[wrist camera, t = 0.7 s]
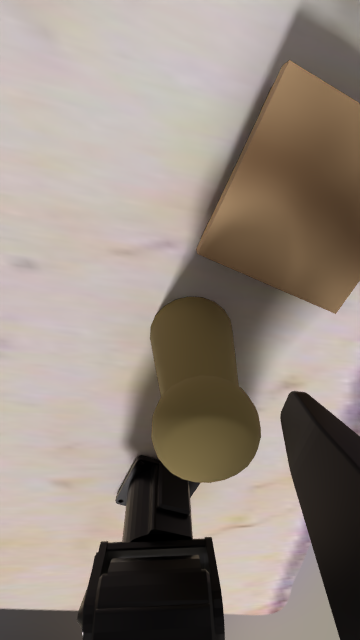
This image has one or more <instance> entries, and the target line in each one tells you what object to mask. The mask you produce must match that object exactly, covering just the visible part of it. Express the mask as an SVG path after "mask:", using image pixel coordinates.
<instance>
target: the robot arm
mask: <svg viewBox="0 0 360 640" xmlns="http://www.w3.org/2000/svg"><path fill="white" fill-rule="evenodd" d="M281 425H282V430H283V436H284V441H285V446H286V452H287V457H288V462H289V467H290V472H291V475H292V479H293V482H294V486H295V489H296V492H297V496H298V499H299V503H300V506H301V509H302V513H303V516H304V519H305V523H306V526H307V530H308V533H309V536H310V540H311V543H312V546H313V550H314V553H315V556H316V560H317V563H318V567H319V570H320V573H321V577H322V580H323V583H324V587H325V590H326V594H327V597H328V600H329V604H330V607H331V610H332V614H333V617H334V620H335V624H336V627H337V630H338V634H339V637H340V640H360V436H359V435H357V434H356V433H355V432H354V431H353V430H351V429H350V428H349V427H348V426H346V425H345V424H344V423H343V422H342V421H340V420H339V419H338V418H337V417H335V416H334V415H333V414H332V413H331V412H329V411H328V410H327V409H326V408H324V407H323V406H322V405H321V404H320V403H318V402H317V401H316V400H315V399H313V398H312V397H311V396H310V395H309V394H307V393H305V392H298V391H292V392H291V393H290V394H289V395H288V398H287V400H286V402H285V404H284V407H283V409H282V411H281ZM141 461H142V462H141ZM200 483H201V482H193V481H188V480H184V479H182V478H180V477H178V476H176V475H174V474H172V473H171V472H170V471H169V470H168V469H167V468H166V467H165V466H164V465H163V463H162V462H161V461H160V460H157V459H153V458H149V457H146V456H139V457H137V459H136V460H135V462H134V464H133V466H132V468H131V470H130V472H129V473H128V475H127V477H126V479H125V481H124V483H123V485H122V486H121V488H120V490H119V492H118V494H117V496H116V503H117V504H120V505H124V506H126V512H125V522H124V531H123V540H122V542H113V543H108V541H104V542H101V544H100V548H99V552H98V553H96V556H95V558H94V563H93V568H92V572H91V576H90V580H89V584H88V588H87V590H86V593H85V596H84V598H83V601H82V603H81V606H80V609H79V611H78V623H79V625H80V626H81V628H82V635H83V640H225V632H224V616H223V615H224V614H223V603H222V595H221V588H220V582H219V576H218V570H217V565H216V559H215V553H214V548H213V542H212V537H205V539H193V536H192V522H191V505H190V497H191V496H192V494H193V493H194V491H195V490H196V489H197V487H198V486H199V484H200Z"/></svg>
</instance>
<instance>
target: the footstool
mask: <svg viewBox="0 0 360 640" xmlns="http://www.w3.org/2000/svg"><path fill="white" fill-rule="evenodd" d="M196 250H197V253H198V254H199V255H201V256H203V257H206V258H208V259H210V260H212V261H215V262H217V263H219V264H222V265H224V266H226V267H229V268H231V269H233V270H236V271H238V272H240V273H243V274H245V275H247V276H249V277H252V278H254V279H256V280H259V281H261V282H263V283H266V284H268V285H270V286H273V287H275V288H277V289H280V290H282V291H284V292H286V293H289V294H291V295H293V296H296V297H298V298H300V299H303V300H305V301H307V302H310V303H312V304H314V305H317V306H319V307H321V308H323V309H326V310H328V311H330V312H333V313H335V314H336V313H337V311H338V310H339V309H340V307H341V306H342V304H343V303H344V302H345V300H346V299H347V297H348V296H349V295H350V293H351V292H352V290H353V289H354V288H355V286H356V285H357V283H358V282H359V281H360V103H358V102H357V101H355V100H353V99H352V98H350V97H349V96H347V95H345V94H344V93H342V92H340V91H339V90H337V89H336V88H334V87H332V86H331V85H329V84H327V83H326V82H324V81H323V80H321V79H319V78H318V77H316V76H315V75H313V74H311V73H310V72H308V71H306V70H305V69H303V68H302V67H300V66H298V65H297V64H295V63H293V62H292V61H290V60H289V61H288V62H287V63H285V64H284V65H283V66H282V68H281V70H280V72H279V74H278V76H277V78H276V80H275V82H274V85H273V86H272V87H271V90H270V92H269V94H268V96H267V98H266V100H265V102H264V105H263V107H262V109H261V112H260V114H259V117H258V119H257V121H256V123H255V125H254V127H253V129H252V132H251V134H250V136H249V138H248V140H247V142H246V144H245V146H244V149H243V151H242V153H241V155H240V157H239V159H238V161H237V164H236V166H235V168H234V170H233V172H232V174H231V176H230V178H229V181H228V183H227V185H226V187H225V189H224V191H223V193H222V195H221V198H220V200H219V202H218V204H217V206H216V208H215V210H214V213H213V215H212V217H211V219H210V221H209V222H208V224H207V226H206V228H205V231H204V233H203V235H202V237H201V240H200V242H199V245H198V247H197V249H196Z"/></svg>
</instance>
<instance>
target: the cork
mask: <svg viewBox="0 0 360 640" xmlns="http://www.w3.org/2000/svg"><path fill="white" fill-rule="evenodd" d="M150 340H151V345H152V351H153V356H154V362H155V367H156V372H157V378H158V383H159V389H160V394H161V398H160V400H159V402H158V404H157V407H156V409H155V411H154V414H153V416H152V434H151V439H152V442H153V446H154V449H155V451H156V454H157V456H158V458H159V460H160V461H161V462H162V463H163V465H164V466H165V467H166V468H167V469H168V470H169V471H170V472H171V473H172V474H174V475H176V476H178V477H180V478H182V479H184V480H188V481H193V482H207V483H211V482H216V481H221V480H225V479H227V478H230V477H232V476H234V475H236V474H238V473H239V472H241V471H242V470H243V469H245V468H246V467H247V466H248V465H249V464H250V462H251V461H252V459H253V458H254V456H255V454H256V452H257V449H258V446H259V442H260V438H261V427H260V422H259V416H258V413H257V410H256V408H255V406H254V404H253V403H252V401H251V400H250V398H249V397H248V395H247V394H246V393H245V392H244V390H243V389H242V388H240V387H239V384H238V376H237V367H236V358H235V349H234V341H233V332H232V326H231V321H230V318H229V317H228V315H227V314H226V312H225V310H224V309H223V308H221V307H220V306H219V305H218V304H216V303H215V302H213V301H211V300H208V299H205V298H202V297H185V298H180V299H176V300H174V301H172V302H171V303H169V304H167V305H165V306H164V307H163V308H162V309H161V310H160V311H159V312H158V313H157V315H156V316H155V318H154V320H153V323H152V325H151V332H150Z"/></svg>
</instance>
